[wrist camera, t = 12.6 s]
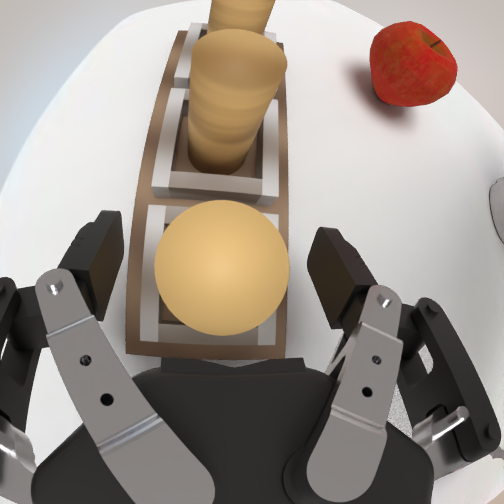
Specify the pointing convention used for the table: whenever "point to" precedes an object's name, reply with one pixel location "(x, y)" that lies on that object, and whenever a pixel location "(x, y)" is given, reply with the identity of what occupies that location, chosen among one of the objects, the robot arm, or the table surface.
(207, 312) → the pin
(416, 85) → the apple
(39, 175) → the table surface
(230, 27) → the brown wooden long rack
